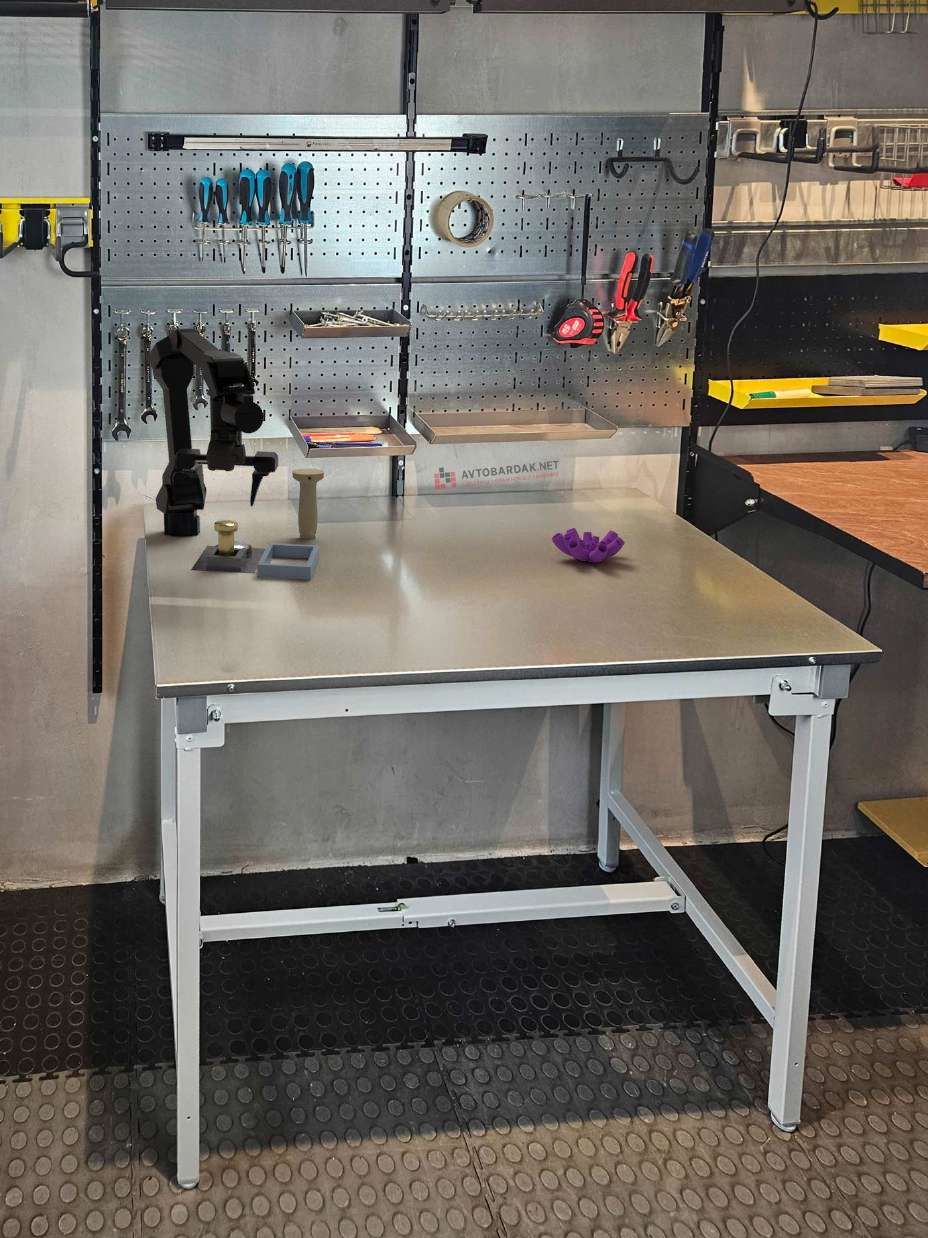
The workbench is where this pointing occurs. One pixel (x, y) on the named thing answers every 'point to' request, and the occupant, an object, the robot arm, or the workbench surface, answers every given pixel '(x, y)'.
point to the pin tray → (287, 569)
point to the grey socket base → (230, 559)
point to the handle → (308, 500)
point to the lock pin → (226, 536)
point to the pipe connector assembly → (588, 545)
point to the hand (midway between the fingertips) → (227, 504)
